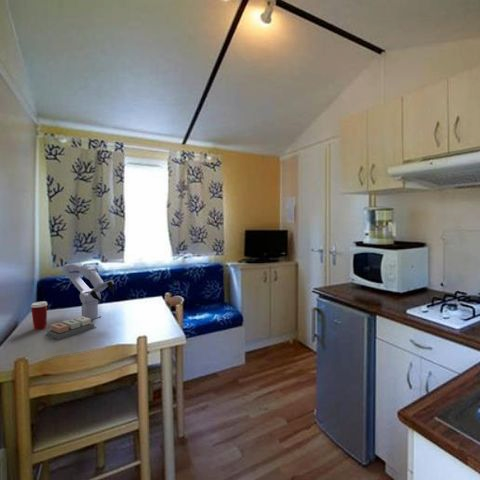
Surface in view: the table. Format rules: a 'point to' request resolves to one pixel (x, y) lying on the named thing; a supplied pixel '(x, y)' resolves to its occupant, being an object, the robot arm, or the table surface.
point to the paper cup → (39, 315)
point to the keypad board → (69, 331)
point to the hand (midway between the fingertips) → (107, 297)
